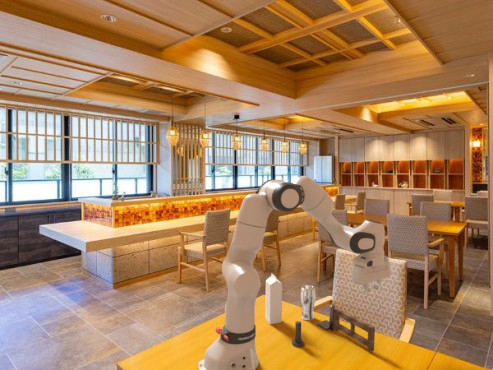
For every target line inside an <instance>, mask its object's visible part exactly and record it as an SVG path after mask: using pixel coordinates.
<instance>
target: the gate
mask: <svg viewBox="0 0 493 370" xmlns="http://www.w3.org/2000/svg"><path fill="white" fill-rule="evenodd" d="M340 318H341V319H343V320H344V321H346V322H348V323H350V329H349V328H348V327H346V326H345V325H343V324H341V323H340ZM356 327H357V328H359V329H361V330H363V331H365V332H366V333H367V338H366V337H365V336H362V335H360V334H359V333H357V332H356V329H355V328H356ZM333 329H334V331H336V332H337V331H338V332H341V333H344V334H345V335H346V336H348V337H350V338H351V339H353V340H355V341H356V342H358V343H360V344H362V345H363V346H365V347H366V348H367V349H366V350H368V351H369V352H373V351H375V334H376V333H375V331H376V327H375V326H373V325H372V324H369V323H367V322H365V321H363V320H362V319H360V318H357V317H356V316H353V315H351V314H349V313H348V312H346V311H344V310H342V309H341V308H338V307H335V308H334V319H333Z"/></svg>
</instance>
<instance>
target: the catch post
mask: <svg viewBox="0 0 493 370" xmlns="http://www.w3.org/2000/svg"><path fill="white" fill-rule="evenodd" d="M294 328H295V329H294V334H295V336H294V337H295V338H293V339H292V341H291V344H292V346H293V347H295V348H301V347H304V345H305V341H304V339H302V322H301V321H299V320H298V321H295V327H294Z"/></svg>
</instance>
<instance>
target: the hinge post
mask: <svg viewBox="0 0 493 370" xmlns="http://www.w3.org/2000/svg"><path fill="white" fill-rule="evenodd" d="M334 308H336V305H335V304H330V305H329V319H328V320H329V321H328V320H327V319H325V320H322V321H318V322H316V326H318V327H320V329H323V330H324V331H332V332H333V331H335V330H334V329H333V319H334Z"/></svg>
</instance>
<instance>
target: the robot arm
mask: <svg viewBox="0 0 493 370" xmlns="http://www.w3.org/2000/svg"><path fill="white" fill-rule="evenodd" d="M299 207H301V209H302V210H303V211H304V212H305V213H306V214H307V215H309V216H310V217H312V218H313V219H314V220H316V221H317V222H318V223H319V224H320V226H321V227H322V228H323V229H324V230H325V231H326V232H327V234H328V235H329V238H330V240H331V243H332V244H333V245H334V246H335V247H337V248H341V249H343V250H345V251H348V252H350V253H353V254H357V256H355V257H354V258H353V259H352V264H353V266H352V274H351V275H352V276H351V278H352V280H351V281H352V283H354V284H356V285H359V286H363V292H364V293H367V294H368V293H370V292H371V288H370V287H369V283H372V282H374V284H373V285H372V289H373V290H374V291H377V290H378V291H379V289H380V285H381V282H382V280H383V279H387V278H389V277H390V276H391V264H390V258H389V257H388V256H387V255H385V250H384V246H385V244H386V243H385V241H386V237H385V236H386V234H385V233H386V230H385V225H384V224H383V222H380V221H377V220H373V219H365V220H364V221H363V222H362V223H361V224H360V225H358V226H357V227H355V228H354V227H351V226H349V225H347V224H345V223H340V222H339V221H338V220H337V219H336V218H335V216H333V214H332V212H333V211H334V207H335V202H334V200H333V198H332V196H330V194H329V193H328V192H327V190H325V189H324V188H323V187H322V186H321V185H320V184H319V183H317V182H316V181H315V180H313V179H312V178H310V177H309V176H307V175H300V176H297V177H296V178H295V179H294V180H293V181H292V182H288V181H285V180H281V179H268V180H266V181H264V182H263V183H261V185H260V186H259V188H258V190H256V191H255V193H249V194H247V195H246V196H244V197H243V200H242V203H241V205H240V208H239V211H238V214H237V218H236V222H235V225H234V226H235V227H234V231H233V235H232V239H231V243H230V246H229V248H228V251H227V253H226V255H225V258H224V260H223V262H222V265H221V271H222V276H223V278H224V280H225V282H226V286H227V297H226V302H225V305H224V325H223V327H222V328H221V327H220V326H216V327H215V330H214V331H215V333H217V334H218V335H220V336H219V337H218V338H217V339H216V340H214V341H213V342H212V344H210V346H208V347H207V348H206V351H205V353H204V359H201V360H200V361H198V365H197V369H199V370H256V369H257V368H258V366H259V363H260V362H259V358H258V354H257V349H256V341H255V339H256V336H257V335H256V334H257V333H256V332H257V330H256V328H257V327H256V323H255V315H256V314H255V311H256V309H255V308H256V301H257V296H258V293H259V292H260V290H261V285H262V284H261V278H260V275H259V273H258V271H257V270H256V268H255V267H254V261H255V259H256V256H257V254H258V252H259V251H260V250H261V249H262V247H263V242H264V238H265V232H266V228H267V223H268V218H269V216H270V214H271V213H272V212H273V211H274V210H276V211H279V212H281V213H289V212H293V211H295V210H297V208H299Z"/></svg>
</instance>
